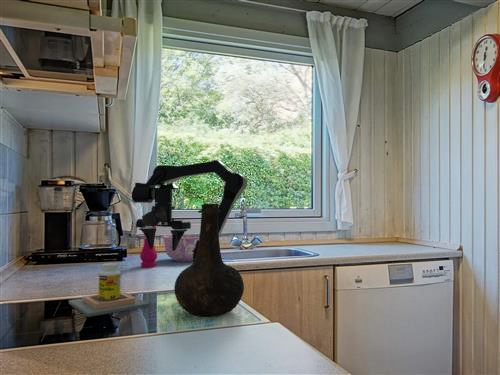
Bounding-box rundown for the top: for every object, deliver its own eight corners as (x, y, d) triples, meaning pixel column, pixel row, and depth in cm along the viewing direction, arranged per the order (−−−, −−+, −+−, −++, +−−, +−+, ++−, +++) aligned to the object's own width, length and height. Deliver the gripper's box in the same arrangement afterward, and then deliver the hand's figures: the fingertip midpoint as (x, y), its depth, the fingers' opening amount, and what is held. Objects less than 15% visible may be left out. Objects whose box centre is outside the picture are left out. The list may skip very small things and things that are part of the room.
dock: (125, 295, 119) (125, 288, 119) (149, 306, 107) (149, 298, 107) (68, 303, 109) (68, 296, 109) (88, 316, 97) (88, 308, 97)
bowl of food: (194, 264, 177) (194, 238, 178) (154, 262, 183) (154, 237, 183) (210, 258, 197) (211, 235, 197) (173, 256, 202) (174, 233, 202)
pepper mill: (152, 268, 167) (153, 220, 167) (136, 267, 168) (137, 220, 169) (159, 265, 174) (160, 219, 175) (144, 264, 175) (145, 219, 176)
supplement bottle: (94, 303, 106) (95, 265, 106) (103, 298, 111) (104, 262, 112) (115, 304, 105) (116, 265, 106) (123, 299, 111) (124, 262, 111)
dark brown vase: (218, 328, 90) (220, 203, 91) (158, 316, 98) (160, 202, 99) (256, 309, 105) (257, 203, 106) (201, 300, 114) (203, 202, 115)
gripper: (124, 202, 130) (123, 250, 130) (172, 203, 122) (171, 254, 122) (147, 202, 140) (146, 247, 140) (192, 203, 132) (191, 250, 132)
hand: (162, 249), depth 133 cm, fingers open, 9 cm apart
